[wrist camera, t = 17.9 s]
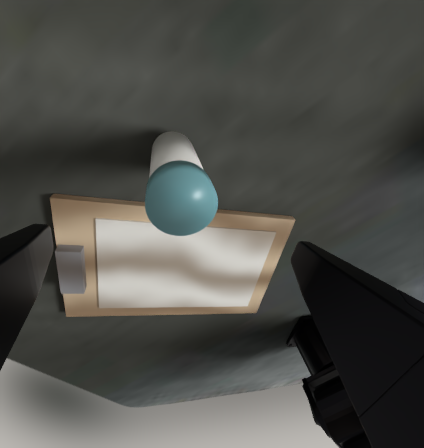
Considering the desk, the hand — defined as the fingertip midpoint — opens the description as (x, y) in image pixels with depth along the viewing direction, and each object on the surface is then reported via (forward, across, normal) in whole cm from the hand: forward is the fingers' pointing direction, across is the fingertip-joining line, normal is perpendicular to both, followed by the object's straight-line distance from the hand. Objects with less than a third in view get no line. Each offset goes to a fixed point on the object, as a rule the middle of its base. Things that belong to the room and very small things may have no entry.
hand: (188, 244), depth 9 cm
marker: (+13, 0, 0) cm, 13 cm away
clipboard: (+13, -2, +12) cm, 18 cm away
